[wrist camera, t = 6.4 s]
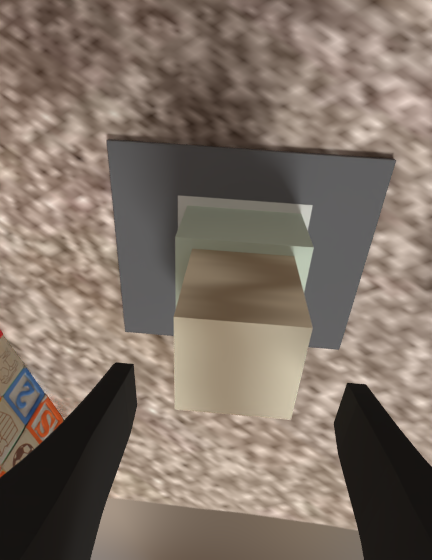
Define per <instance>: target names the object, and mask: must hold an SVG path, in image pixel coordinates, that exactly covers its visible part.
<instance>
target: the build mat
mask: <svg viewBox="0 0 432 560" xmlns="http://www.w3.org/2000/svg"><path fill="white" fill-rule="evenodd" d="M107 149H108V159H109V169H110V180H111V190H112V200H113V210H114V220H115V231H116V241H117V251H118V261H119V272H120V282H121V292H122V302H123V313H124V323H125V332H134V333H146V334H158V335H170V336H174V314H175V310H176V288H175V236H176V234H177V231H178V228H179V226H180V223H181V221H182V218H183V215H184V213H185V210H186V208H187V205H188V206H201V207H215V208H229V209H243V210H256V211H270V212H284V213H298V214H302V217H303V220H304V222H305V225H306V228H307V230H308V233H309V236H310V239H311V241H312V244H313V247H314V249H313V253H312V258H311V263H310V268H309V272H308V277H307V282H306V286H305V291H304V296H305V299H306V303H307V307H308V311H309V315H310V319H311V323H312V327H313V329H312V333H311V338H310V342H309V346H308V347H314V348H326V349H338V350H339V348H340V345H341V342H342V338H343V335H344V332H345V328H346V325H347V322H348V318H349V315H350V312H351V308H352V305H353V302H354V298H355V295H356V292H357V288H358V285H359V282H360V279H361V275H362V272H363V269H364V265H365V262H366V259H367V255H368V252H369V249H370V245H371V242H372V239H373V235H374V232H375V229H376V225H377V222H378V219H379V215H380V212H381V209H382V205H383V202H384V199H385V196H386V192H387V189H388V186H389V182H390V179H391V176H392V172H393V169H394V166H395V162H396V160H395V159H388V158H373V157H359V156H344V155H330V154H315V153H300V152H286V151H271V150H257V149H242V148H228V147H213V146H198V145H184V144H169V143H155V142H140V141H125V140H111V139H108V140H107Z"/></svg>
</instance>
